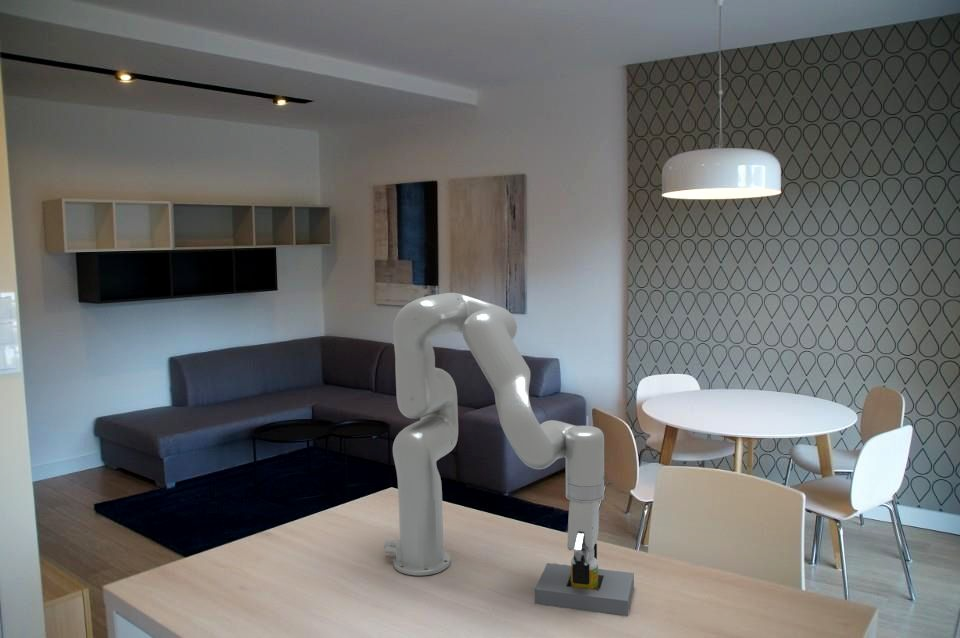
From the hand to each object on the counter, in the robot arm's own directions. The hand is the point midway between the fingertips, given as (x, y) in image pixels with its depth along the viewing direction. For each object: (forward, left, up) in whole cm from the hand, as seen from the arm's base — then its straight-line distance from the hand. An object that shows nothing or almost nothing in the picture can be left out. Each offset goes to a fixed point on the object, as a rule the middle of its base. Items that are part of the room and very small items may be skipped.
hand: (585, 572), depth 148 cm
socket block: (0, 0, -5) cm, 5 cm away
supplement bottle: (0, 0, -5) cm, 5 cm away
